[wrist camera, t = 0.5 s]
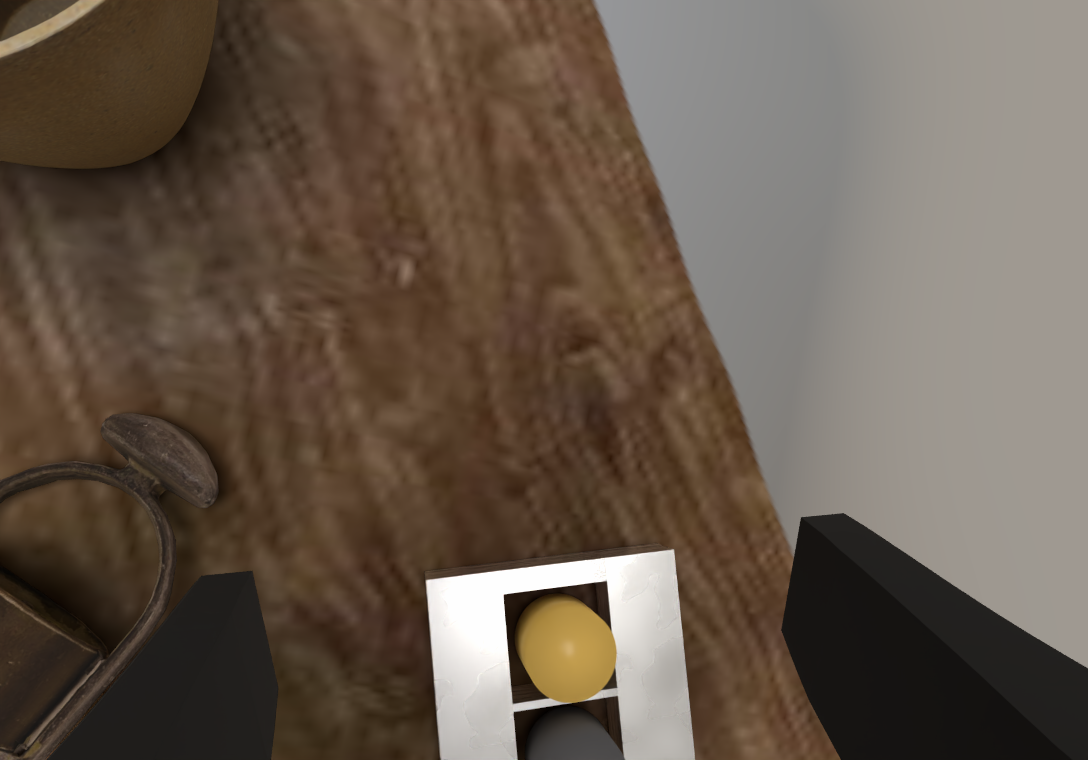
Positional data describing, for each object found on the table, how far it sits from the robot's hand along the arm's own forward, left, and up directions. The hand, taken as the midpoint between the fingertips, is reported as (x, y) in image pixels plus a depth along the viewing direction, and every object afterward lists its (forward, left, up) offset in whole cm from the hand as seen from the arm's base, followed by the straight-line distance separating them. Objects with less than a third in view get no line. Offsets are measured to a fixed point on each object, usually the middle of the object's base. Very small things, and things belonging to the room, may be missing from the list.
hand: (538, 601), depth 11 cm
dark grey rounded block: (-11, -4, -22) cm, 25 cm away
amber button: (-6, -4, -22) cm, 23 cm away
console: (-11, -4, -23) cm, 26 cm away
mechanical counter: (-2, +14, -24) cm, 27 cm away
